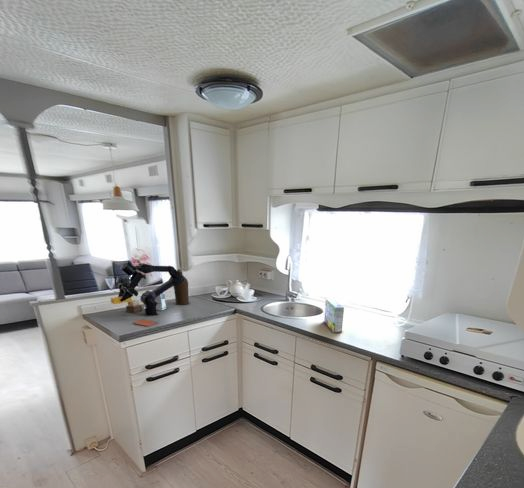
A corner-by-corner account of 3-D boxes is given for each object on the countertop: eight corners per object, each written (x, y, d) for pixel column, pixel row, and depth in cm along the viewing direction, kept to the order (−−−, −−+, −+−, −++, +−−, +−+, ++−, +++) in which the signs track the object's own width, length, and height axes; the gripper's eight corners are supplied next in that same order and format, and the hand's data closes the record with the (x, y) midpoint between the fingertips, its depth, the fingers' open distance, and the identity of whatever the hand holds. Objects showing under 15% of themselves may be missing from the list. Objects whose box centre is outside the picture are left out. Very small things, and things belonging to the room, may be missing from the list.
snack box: (323, 321, 205) (325, 298, 200) (331, 321, 206) (334, 298, 200) (332, 332, 186) (335, 307, 180) (342, 332, 186) (345, 307, 181)
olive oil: (192, 304, 242) (189, 269, 233) (178, 306, 236) (175, 271, 227) (185, 301, 250) (183, 268, 240) (172, 303, 244) (169, 269, 234)
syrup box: (162, 310, 224) (160, 289, 218) (154, 310, 225) (152, 289, 219) (166, 308, 229) (164, 288, 224) (158, 308, 230) (156, 287, 225)
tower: (142, 310, 223) (140, 300, 221) (134, 313, 217) (132, 302, 215) (134, 309, 226) (133, 299, 223) (126, 311, 220) (125, 301, 218)
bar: (129, 300, 204) (128, 295, 203) (132, 301, 202) (131, 296, 200) (111, 302, 197) (110, 297, 196) (114, 304, 194) (113, 299, 193)
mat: (133, 323, 196) (133, 322, 196) (143, 320, 203) (143, 319, 203) (147, 326, 192) (146, 325, 192) (156, 322, 198) (156, 322, 198)
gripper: (117, 270, 201) (102, 290, 198) (130, 274, 189) (114, 295, 186) (131, 281, 210) (117, 300, 207) (145, 285, 197) (129, 306, 194)
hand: (119, 300), depth 198 cm, fingers closed on bar, 4 cm apart
